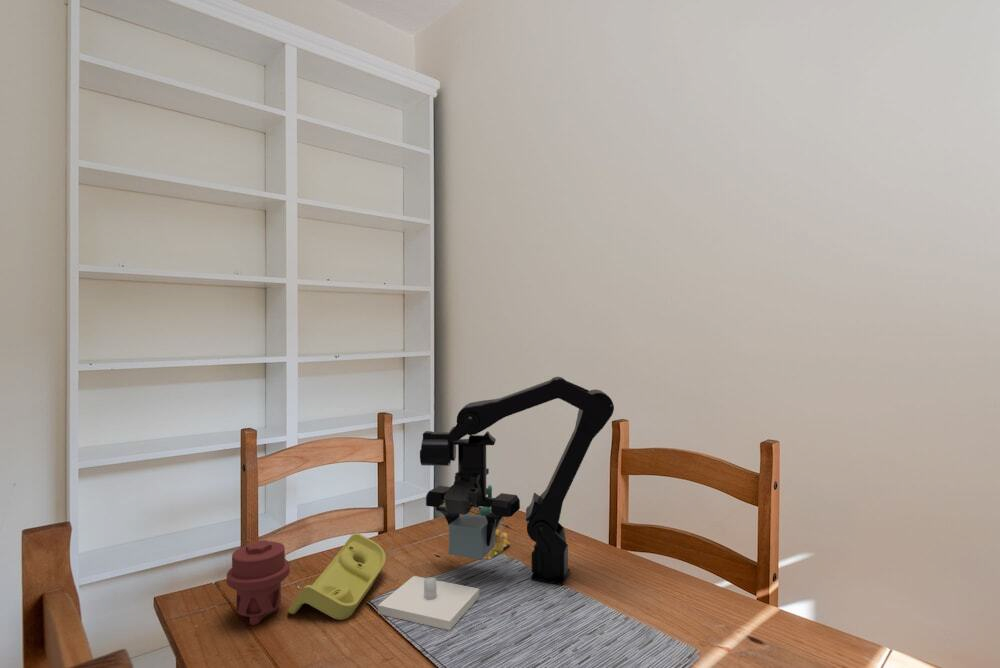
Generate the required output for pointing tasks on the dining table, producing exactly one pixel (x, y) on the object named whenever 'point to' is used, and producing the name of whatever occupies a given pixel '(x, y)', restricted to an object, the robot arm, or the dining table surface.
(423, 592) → the base plate
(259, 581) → the mechanical component
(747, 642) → the dining table surface
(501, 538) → the green and yellow piece
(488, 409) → the robot arm
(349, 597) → the plastic component
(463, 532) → the slate grey cube
